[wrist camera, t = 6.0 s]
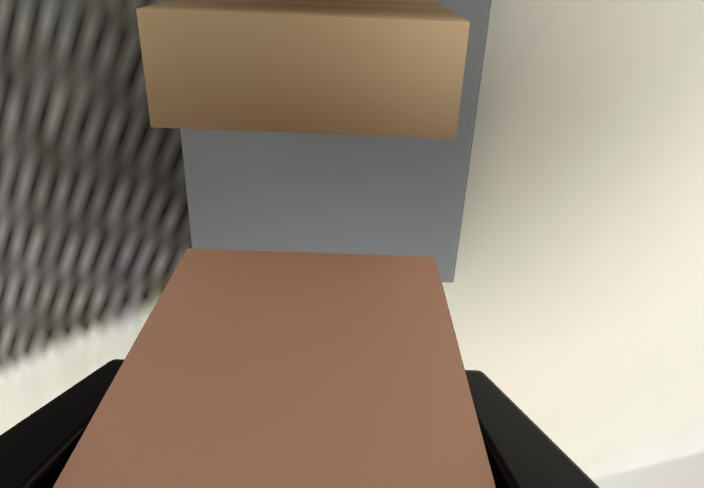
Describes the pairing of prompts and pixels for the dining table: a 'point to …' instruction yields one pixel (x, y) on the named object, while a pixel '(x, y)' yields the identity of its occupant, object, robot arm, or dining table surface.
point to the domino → (304, 66)
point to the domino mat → (338, 182)
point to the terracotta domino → (289, 381)
